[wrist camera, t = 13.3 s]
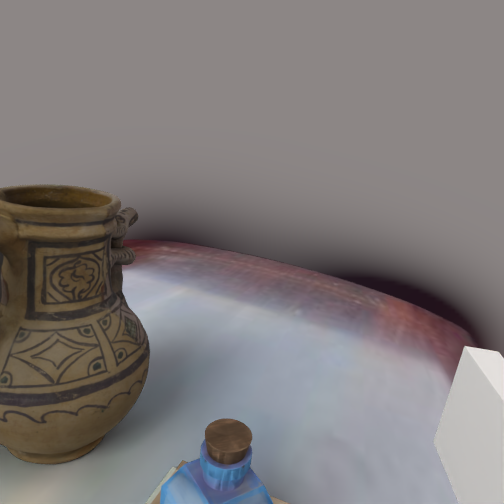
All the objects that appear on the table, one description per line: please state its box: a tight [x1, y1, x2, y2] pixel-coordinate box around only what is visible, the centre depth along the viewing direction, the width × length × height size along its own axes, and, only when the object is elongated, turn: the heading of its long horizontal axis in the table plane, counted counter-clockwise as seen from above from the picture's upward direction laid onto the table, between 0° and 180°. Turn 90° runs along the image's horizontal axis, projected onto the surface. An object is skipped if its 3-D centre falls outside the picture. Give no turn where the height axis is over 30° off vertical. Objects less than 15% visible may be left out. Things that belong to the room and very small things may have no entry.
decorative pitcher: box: [0, 185, 150, 464], centre depth 42 cm, size 22×18×25 cm
